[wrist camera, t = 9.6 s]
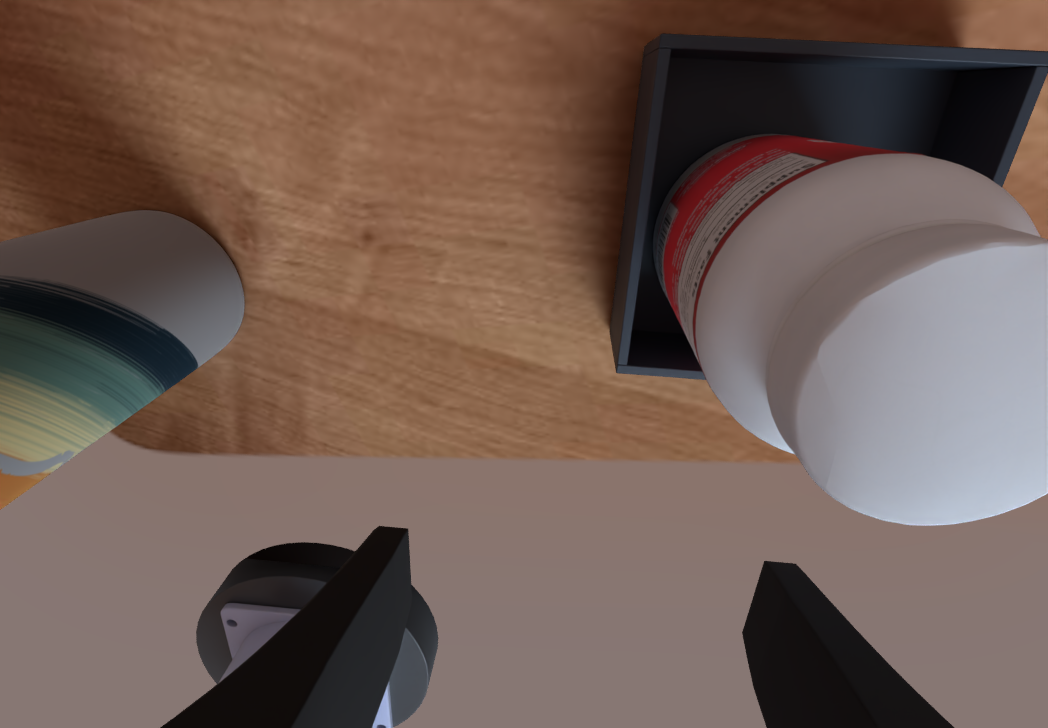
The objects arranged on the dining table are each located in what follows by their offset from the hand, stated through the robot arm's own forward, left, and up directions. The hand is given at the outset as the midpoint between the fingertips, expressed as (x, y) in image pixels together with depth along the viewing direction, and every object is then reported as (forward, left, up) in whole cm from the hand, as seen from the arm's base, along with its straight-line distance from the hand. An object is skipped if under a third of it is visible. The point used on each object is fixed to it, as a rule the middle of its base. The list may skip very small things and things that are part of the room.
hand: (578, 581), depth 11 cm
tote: (+6, -6, -10) cm, 13 cm away
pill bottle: (+5, -5, -10) cm, 12 cm away
